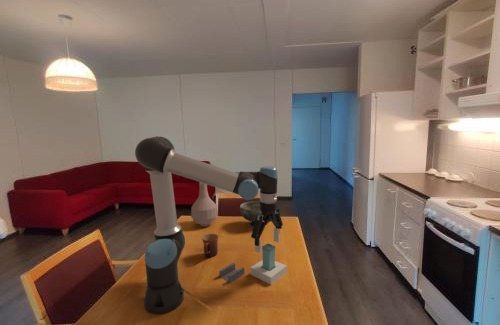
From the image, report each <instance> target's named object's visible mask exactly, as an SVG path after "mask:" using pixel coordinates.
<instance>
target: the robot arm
mask: <svg viewBox="0 0 500 325" xmlns="http://www.w3.org/2000/svg"><path fill="white" fill-rule="evenodd" d="M134 151H135V152H134V156H135V158H136V160H137V162H138V164H139V165H141V166H142V167H144V170H145V172H147V174H149V178H150V185H151V193H152V199H153V207H154V208H153V209H154V216H155V221H156V228H155V229H154V231H153V236H154V241H153V242H151V243H150V244H149V245H148V244H147V246H146V248H145V250H144V262H145V263H144V264H145V275H146V282H147V283H146V284H147V287H146V288H145V289H146V290H145V293H144V297H143V307H144V309H145V311H147V312H148V313H150V314H153V315H162V314H166V313H169V312H171V311H173V310H176V309H177V308H178V307H179V306H181V304H182V303H183V301H184V298H185V293H184V288H183V286H182V284H181V282H180V279H179V269H178V268H179V267H178V263H179V260H180V258H181V255H182V252H183V251H184V248H185V245H186V237H185V234H184V232H183V229H182V226H181V225H180V224H179V223H178V217H177V216H178V215H177V208H176V201H175V193H174V192H175V191H174V184H173V178H172V177H173V176H172V174H174V175H176V176H180V177H183V178H186V179H190V180H193V181H196V182H198V183H205V184H207V186H211V187H214V188H217V189H221V190H223V191H226V192H229V193H233V194H235V195H238V196H240V197H241V198H242V199H243V200H246V201H250V200H251V201H252V200H253V199H255V198H257V195H258V194H259V201H261V202H260V210H261V212H262V213H261V215H257V216H256V222H255V225H254V228H252V232H251V235H250V237H251V238H252V239H254V251H255V252H256V253H258V254H261V253H262V238H261V237H262V234H263V232H264V230H265V228H266V226H267V225H268V224H269V223H270V222H271V223H272V224H273V226H274V227H273V242H276V243H280V234H281V231H280V230H281V229H283V226H284V224H283V220H282V217H281V215H280V214H281V213H280V209H279V208H277V207H278V206H277V205H278V203H277V201H278V169H277V167H275V166H261V167H260V170H259V171H235V172H234V171H231V170H228V169H225V168H222V167H219V166H216V165H213V164H211V163H207V162H204V161H202V160H198V159H195V158H192V157H189V156H186V155H183V154H180V153H177V152H175V151H176V150H175V146H174V144H173V142H172V141H171V140H170V139H168V138H167V137H164V136H157V135H156V136H153V137H148V138H144V139H142V140H140V142H138V144H137V145H136V147H135V150H134Z"/></svg>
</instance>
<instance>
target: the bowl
mask: <svg viewBox="0 0 500 325" xmlns="http://www.w3.org/2000/svg"><path fill="white" fill-rule="evenodd" d="M260 202H261V201H260V200H251V201H246V202H244V203H241V204H240V206H239V208H240V214H241V216H242V218H244V219H245V220H246V221H248V224H247V226H248V227H249V228H252V229H253V228H254V225H255V222H256V216H257V215H261V213H262V212H261V210H260Z"/></svg>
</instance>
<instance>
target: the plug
mask: <svg viewBox="0 0 500 325" xmlns="http://www.w3.org/2000/svg"><path fill="white" fill-rule="evenodd" d="M261 250H262V260H263V268H264V269H266V270H268V271H271V270H272V269H274V268H275V261H276V246H275V245H273V244H271V243H267V244H264V245H263V246H261Z"/></svg>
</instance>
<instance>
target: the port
mask: <svg viewBox="0 0 500 325" xmlns="http://www.w3.org/2000/svg"><path fill="white" fill-rule="evenodd" d="M249 270H250V273H249V274H250V276H252V277H255V278H257V279H259V280H261V281H263V282H265V283H267V284H269V285H274V284H275V283H276V282H277V281H278V280H279V279H281V278H282V277H284V276H285V275H286V274H287V273H288V265H286V264H284V263H281V262H279V261H276V260H275V268H274V269H272V270H271V271H268V270H266V269H264V268H263V259H262V260H260V261H258V262H257V263H255V264H253V265H252V266H250V268H249Z"/></svg>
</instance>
